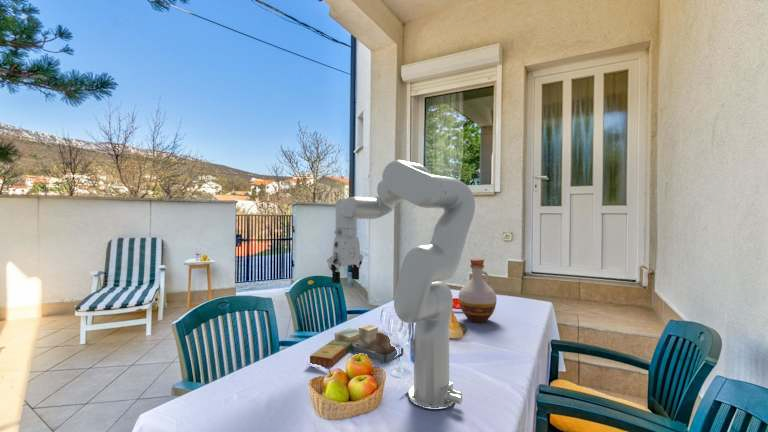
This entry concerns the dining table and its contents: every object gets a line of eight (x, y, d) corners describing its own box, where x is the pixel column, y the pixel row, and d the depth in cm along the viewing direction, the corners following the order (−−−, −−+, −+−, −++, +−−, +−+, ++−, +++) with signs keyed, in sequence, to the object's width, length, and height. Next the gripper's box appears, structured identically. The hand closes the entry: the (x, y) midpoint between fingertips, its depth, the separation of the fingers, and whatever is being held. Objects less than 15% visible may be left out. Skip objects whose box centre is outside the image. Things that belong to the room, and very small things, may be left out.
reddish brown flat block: (309, 368, 108) (309, 354, 108) (332, 350, 123) (332, 338, 123) (331, 371, 105) (331, 358, 106) (352, 352, 121) (352, 341, 121)
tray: (403, 356, 117) (403, 347, 117) (385, 365, 109) (385, 356, 109) (369, 345, 127) (369, 337, 127) (351, 353, 119) (351, 345, 119)
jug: (474, 312, 173) (474, 255, 174) (505, 320, 160) (505, 258, 160) (450, 319, 161) (450, 258, 161) (482, 328, 147) (482, 261, 148)
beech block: (377, 348, 121) (378, 327, 121) (368, 353, 117) (368, 330, 117) (367, 345, 124) (367, 324, 124) (358, 349, 120) (358, 327, 120)
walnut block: (396, 354, 116) (396, 331, 116) (387, 359, 112) (387, 335, 112) (385, 351, 119) (385, 328, 119) (376, 355, 115) (376, 332, 115)
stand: (364, 345, 127) (364, 331, 127) (349, 351, 121) (349, 337, 121) (349, 340, 132) (349, 327, 132) (334, 346, 126) (334, 332, 126)
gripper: (335, 234, 109) (335, 286, 108) (369, 232, 122) (369, 278, 122) (320, 233, 113) (320, 283, 113) (354, 232, 127) (354, 276, 127)
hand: (346, 281), depth 117 cm, fingers open, 9 cm apart
